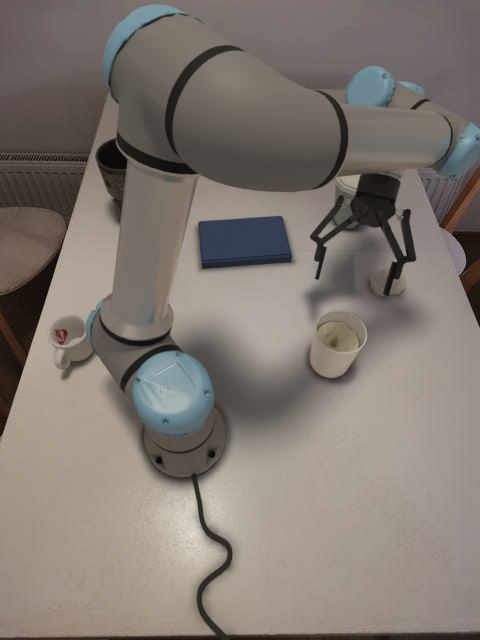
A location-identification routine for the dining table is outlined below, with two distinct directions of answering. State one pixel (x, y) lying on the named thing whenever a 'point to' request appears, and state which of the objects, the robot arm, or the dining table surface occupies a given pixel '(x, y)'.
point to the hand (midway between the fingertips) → (350, 287)
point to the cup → (69, 339)
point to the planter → (112, 171)
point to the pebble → (380, 280)
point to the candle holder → (336, 342)
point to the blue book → (243, 242)
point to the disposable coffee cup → (346, 189)
